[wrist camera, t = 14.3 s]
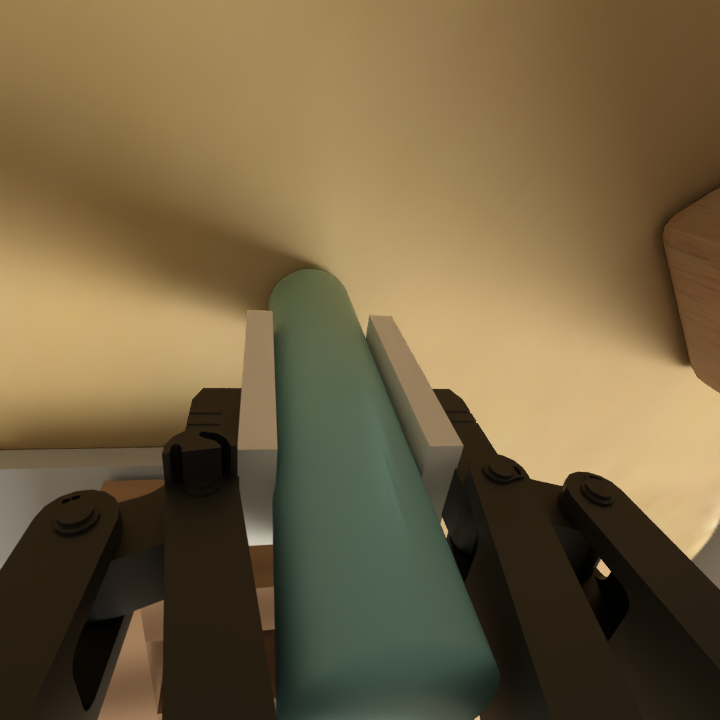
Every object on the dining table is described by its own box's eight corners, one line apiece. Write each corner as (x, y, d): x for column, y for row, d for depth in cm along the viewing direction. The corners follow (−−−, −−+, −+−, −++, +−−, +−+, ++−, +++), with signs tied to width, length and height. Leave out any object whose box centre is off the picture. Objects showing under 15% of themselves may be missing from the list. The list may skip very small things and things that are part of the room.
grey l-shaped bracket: (-162, 452, 18) (-482, 722, 10) (378, 443, 23) (437, 625, 15) (-74, 621, 24) (-242, 886, 16) (352, 585, 28) (386, 775, 20)
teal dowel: (269, 266, 17) (281, 657, 5) (354, 271, 18) (529, 630, 6) (267, 342, 19) (272, 777, 7) (345, 344, 20) (470, 745, 8)
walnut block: (103, 480, 19) (53, 604, 15) (339, 473, 22) (361, 579, 17) (130, 624, 24) (98, 753, 19) (321, 607, 26) (334, 718, 22)
